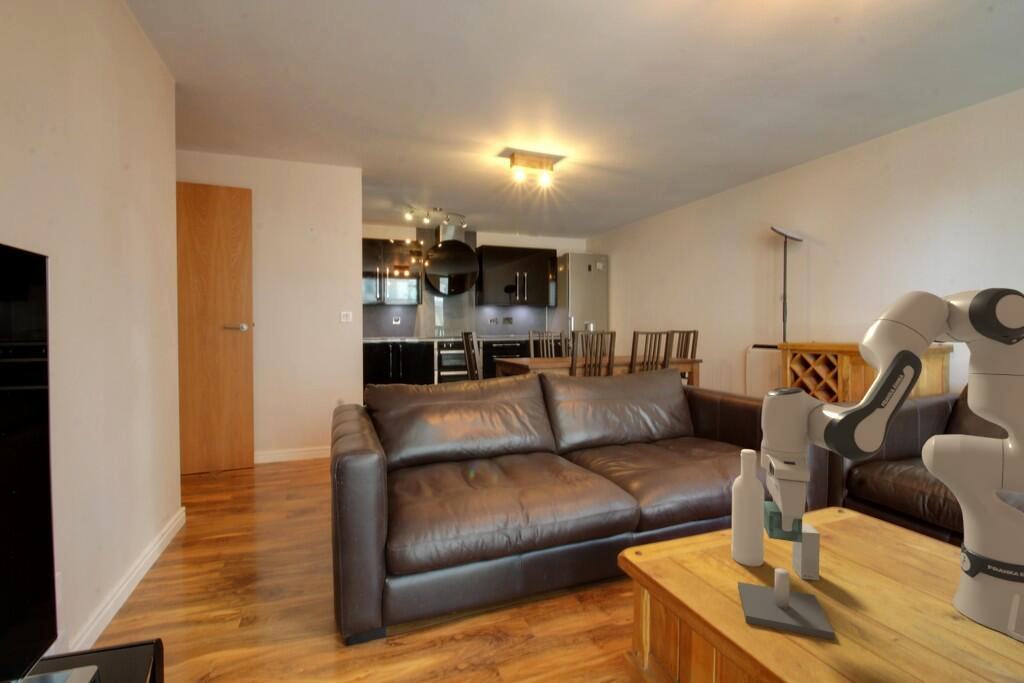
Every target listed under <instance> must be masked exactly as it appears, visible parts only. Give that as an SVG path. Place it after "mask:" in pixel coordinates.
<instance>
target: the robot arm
mask: <svg viewBox="0 0 1024 683" xmlns="http://www.w3.org/2000/svg"><path fill="white" fill-rule="evenodd" d="M933 343H937V344H944V343H955V344H956V343H961V344H962V343H965V344H966V346H967V348H968V349H969V353H970V355H969V362H968V377H967V379H968V380H967V406H968V408H969V409H970V411H972V413H973V414H975V415H977V416H978V417H980V418H982V419H984V420H986V421H988V422H990V423H993V424H995V425H997V426H999V427H1001V428H1002V429H1005V431H1006V432H1007V433H1008V434H1007V435H1008V437H1007V438H1002V439H1001V438H995V437H985V436H977V435H968V434H967V435H966V434H935V435H933V436H931V437H929V438H928V439H927V441H926V442H925V443H924V445H923V446H922V451H921V458H922V463H923V464H924V466H925V468H926V469H927V470H928V472H929V473H930V474H931V475H933V477H935V478H937V479H938V480H939V481H941V482H942V483H943V484H944V485H945V486H946V487H948V489H949V490H950V491H951V492H952V494H953V495H954V496H955V498H956V500H957V501H958V503H959V506H960V509H961V513H962V520H963V542H962V543H961V546H960V548H961V549H960V559H959V560H960V569H961V574H960V579H959V582H958V587H957V590H956V593H955V594H954V597H953V599H952V601H951V602H952V605H953V607H954V608H955V610H957V611H958V612H959V613H961V614H962V615H964V616H965V617H967V618H968V619H970V620H972V621H974V622H976V623H977V624H981V625H983V626H985V627H987V628H989V629H993V630H995V631H998V632H1000V633H1004V635H1005V634H1006V635H1007V636H1009V637H1011V638H1013V639H1015V640H1017V641H1019V642H1021V643H1024V512H1023V511H1021V510H1020V509H1018V508H1015V507H1014V506H1011V505H1010V504H1007V503H1006V502H1004V501H1003V500H1001V499H1000V498H999V497H998V495H997V493H996V492H997V491H1005V492H1010V493H1015V494H1020V495H1024V293H1023V292H1021V291H1019V290H1017V289H1013V288H1007V287H990V288H985V289H976V290H968V291H961V292H956V293H954V294H949V295H946V296H941V297H940V296H938V295H936V294H934V293H931V292H928V291H921V290H920V291H919V290H918V291H917V290H915V291H910V292H907V293H905V294H903V295H901V296H900V297H899V298H897V299H895V301H894V302H892V303H891V304H890V305H888V306H887V307H886V308H885V309H884V310H883V311H882V312H881V313H880V314H879V315H878V316H877V317H876V318H875V319H874V321H873V322H872V323H871V324H870V325H869V326H868V327H867V329H866V330H865V331H864V332H863V334H862V336H861V338H860V339H859V341H858V350H859V353H860V356H861V357H862V359H863V360H864V361H865V363H867V364H868V365H869V366H870V367H871V368H872V369H874V370H875V371H877V376H876V378H875V379H874V381H873V383H872V384H871V385H870V387H869V389H868V390H867V392H866V394H865V395H864V396H863V398H862V400H861V401H860V402H859V403H858V404H856V405H852V406H850V407H844V406H841V405H840V406H839V405H835V404H831V403H828V402H825V401H823V400H821V399H817V398H816V397H813V396H811V395H810V394H808V393H807V392H806V391H805V390H804V389H803V388H800V387H796V386H795V387H793V386H791V387H790V386H789V387H787V386H786V387H784V386H782V387H777V388H773V389H771V390H769V391H768V392H766V394H765V395H764V398H763V401H762V409H761V430H762V440H761V443H760V466H761V468H762V469H765V470H766V478H765V480H766V482H765V484H766V488H767V490H768V492H769V493H770V494H769V495H771V497H772V502H776V504H777V506H778V508H779V510H780V511H781V513H782V520H781V527H782V529H783V530H784V531H789V532H790V531H792V523H793V520H794V518H796V519H801V518H802V519H803V517H804V515H805V509H806V501H807V500H806V499H807V482H810V480H811V471H810V469H809V466H808V447H809V445H816V446H817V447H819V448H823V449H825V450H828V451H831V452H833V453H835V454H837V455H839V456H840V457H843V458H845V459H847V460H850V461H864V460H869V459H871V458H872V457H874V456H875V455H877V453H878V452H879V451H880V450H881V449H882V448H883V446H884V444H885V442H886V439H887V436H888V432H889V430H890V427H891V425H892V423H893V422H894V420H895V418H896V417H897V416H898V413H899V412H900V411H901V409H902V407H903V405H904V404H905V402H906V401H907V399H908V397H909V396H910V394H911V393H912V391H913V389H914V388H915V386H916V384H917V382H918V380H919V379H920V376H921V374H922V371H923V363H922V361H921V359H922V358H923V356H924V355H925V353H926V351H927V350H928V349H929V348H930V346H931V345H933Z"/></svg>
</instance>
